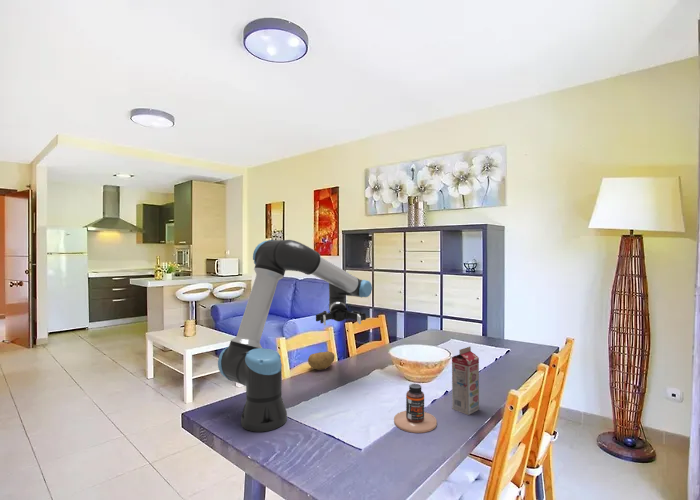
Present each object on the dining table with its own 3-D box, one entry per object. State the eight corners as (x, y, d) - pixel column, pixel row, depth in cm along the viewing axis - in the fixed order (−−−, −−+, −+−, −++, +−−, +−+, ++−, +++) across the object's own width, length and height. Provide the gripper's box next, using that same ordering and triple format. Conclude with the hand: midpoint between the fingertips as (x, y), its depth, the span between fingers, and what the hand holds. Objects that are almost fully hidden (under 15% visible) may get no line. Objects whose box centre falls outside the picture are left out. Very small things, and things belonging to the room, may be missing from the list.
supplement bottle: (410, 424, 122) (410, 389, 122) (403, 416, 128) (403, 383, 128) (427, 422, 124) (427, 387, 124) (419, 414, 130) (419, 381, 129)
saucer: (431, 436, 117) (431, 433, 117) (388, 427, 122) (388, 424, 122) (440, 417, 129) (440, 414, 129) (400, 410, 135) (400, 407, 135)
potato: (339, 368, 182) (339, 351, 182) (314, 374, 173) (314, 357, 173) (328, 363, 189) (328, 347, 189) (304, 369, 181) (303, 352, 181)
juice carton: (452, 408, 136) (451, 347, 136) (462, 403, 140) (462, 344, 140) (468, 415, 131) (468, 351, 130) (479, 409, 135) (478, 348, 135)
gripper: (366, 319, 168) (374, 329, 147) (310, 320, 165) (309, 332, 144) (366, 302, 168) (374, 310, 147) (310, 303, 165) (309, 312, 144)
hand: (342, 321), depth 145 cm, fingers open, 13 cm apart
